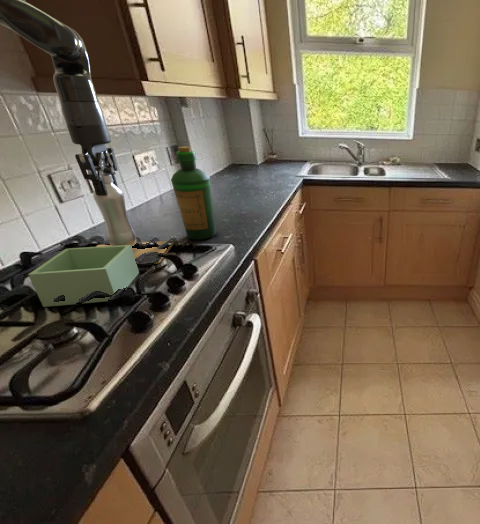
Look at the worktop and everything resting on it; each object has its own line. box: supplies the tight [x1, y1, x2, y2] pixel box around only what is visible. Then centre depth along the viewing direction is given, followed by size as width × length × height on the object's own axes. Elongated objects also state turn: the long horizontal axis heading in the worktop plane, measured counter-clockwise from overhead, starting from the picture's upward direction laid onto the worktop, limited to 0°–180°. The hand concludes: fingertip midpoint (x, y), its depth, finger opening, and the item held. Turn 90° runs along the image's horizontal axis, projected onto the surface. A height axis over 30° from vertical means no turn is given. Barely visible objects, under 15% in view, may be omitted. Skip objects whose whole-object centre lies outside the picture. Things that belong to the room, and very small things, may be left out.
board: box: [95, 240, 174, 265], centre depth 94 cm, size 20×14×1 cm
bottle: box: [170, 146, 217, 241], centre depth 103 cm, size 11×11×28 cm
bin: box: [27, 245, 140, 308], centre depth 76 cm, size 14×14×8 cm
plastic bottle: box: [92, 173, 138, 247], centre depth 89 cm, size 6×7×20 cm
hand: (107, 192), depth 86 cm, fingers closed on plastic bottle, 6 cm apart
